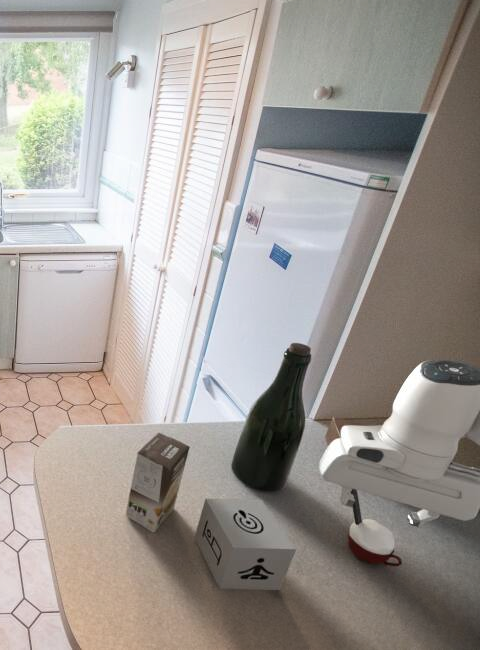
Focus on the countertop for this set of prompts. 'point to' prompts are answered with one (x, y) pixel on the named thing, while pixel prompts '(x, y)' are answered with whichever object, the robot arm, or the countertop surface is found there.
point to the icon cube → (243, 544)
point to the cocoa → (370, 539)
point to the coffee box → (156, 481)
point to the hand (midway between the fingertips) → (378, 513)
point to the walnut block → (338, 428)
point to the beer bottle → (274, 426)
